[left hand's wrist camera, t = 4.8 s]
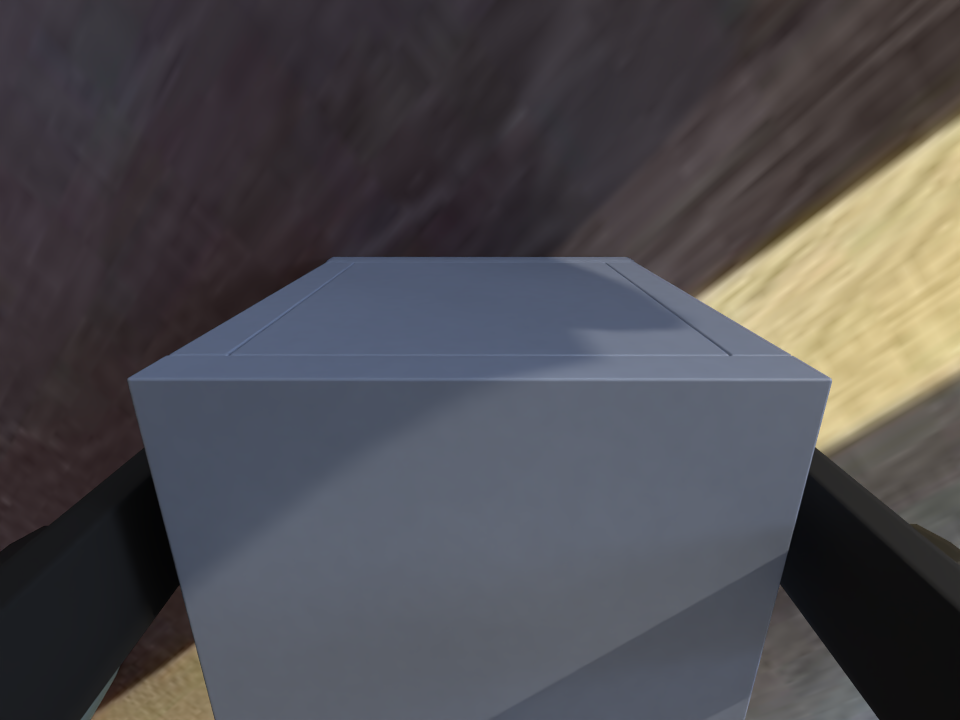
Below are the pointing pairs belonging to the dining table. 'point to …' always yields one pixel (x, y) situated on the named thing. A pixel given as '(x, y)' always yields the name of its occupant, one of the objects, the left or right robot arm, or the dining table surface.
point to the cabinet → (479, 493)
